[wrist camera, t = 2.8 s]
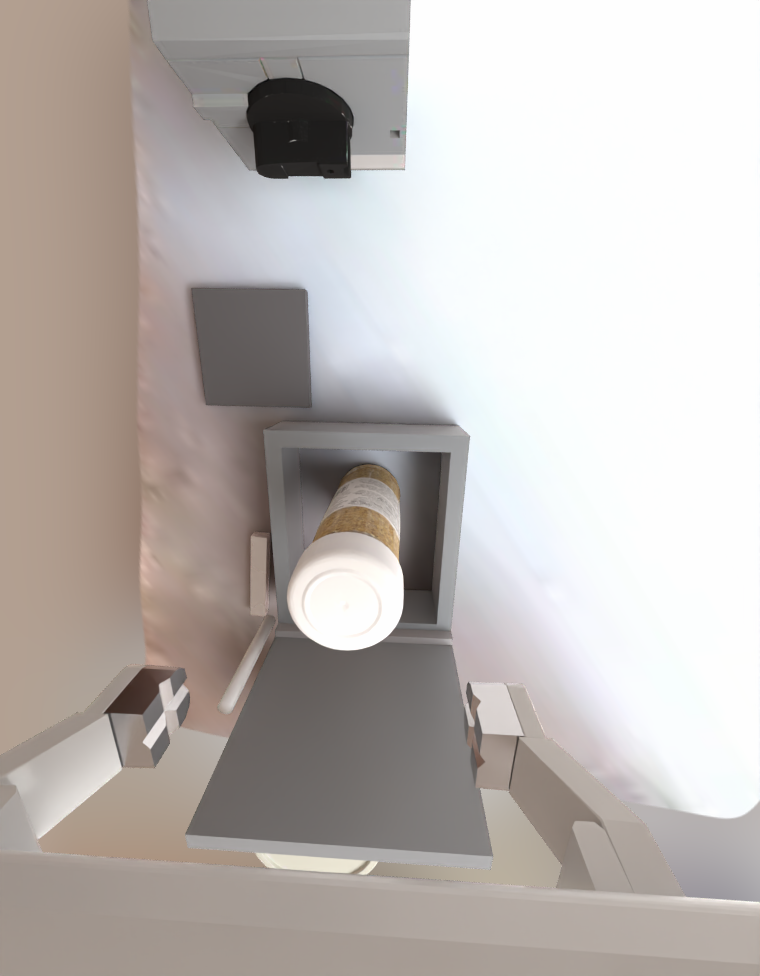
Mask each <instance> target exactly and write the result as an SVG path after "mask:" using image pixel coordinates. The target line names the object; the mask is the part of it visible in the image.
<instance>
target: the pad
mask: <svg viewBox="0 0 760 976" xmlns="http://www.w3.org/2000/svg"><path fill="white" fill-rule="evenodd" d="M192 296H193V304H194V312H195V320H196V328H197V336H198V344H199V352H200V360H201V368H202V376H203V384H204V392H205V400H206V405H222V406H261V407H301V408H310V407H312V400H311V373H310V346H309V319H308V293H307V291H306V290H299V289H221V288H192Z"/></svg>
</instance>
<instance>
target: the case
mask: <svg viewBox="0 0 760 976" xmlns="http://www.w3.org/2000/svg"><path fill="white" fill-rule="evenodd" d="M263 433H264V446H265V458H266V471H267V484H268V496H269V509H270V521H271V534H272V547H273V559H274V572H275V584H276V597H277V609H278V622H279V623H278V625H277V627H276V629H275V639H274V641H273V643H272V645H271V647H270V650H269V652H268V654H267V656H266V658H265V661H264V663H263V665H262V667H261V669H260V672H259V674H258V676H257V678H256V680H255V683H254V685H253V687H252V689H251V691H250V693H249V696H248V698H247V700H246V702H245V704H244V707H243V709H242V711H241V713H240V715H239V718H238V720H237V722H236V724H235V726H234V729H233V731H232V733H231V735H230V737H229V739H228V742H227V744H226V746H225V748H224V750H223V753H222V755H221V757H220V759H219V761H218V764H217V766H216V768H215V770H214V773H213V775H212V777H211V779H210V781H209V783H208V785H207V788H206V790H205V792H204V794H203V797H202V799H201V801H200V803H199V805H198V807H197V810H196V812H195V814H194V816H193V819H192V821H191V823H190V825H189V827H188V829H187V832H186V834H185V836H186V841H187V846H188V848H198V849H213V850H227V851H240V852H253V853H267V854H281V855H295V856H308V857H322V858H336V859H350V860H364V861H377V862H391V863H405V864H420V865H433V866H446V867H460V868H474V869H488V870H491V866H492V860H493V854H492V848H491V844H490V838H489V833H488V828H487V823H486V817H485V812H484V807H483V802H482V797H481V792H480V788H475V784H474V779H473V774H472V769H471V764H470V756H471V748H470V747H469V746H468V745H467V742H466V737H465V729H464V704H463V699H462V694H461V689H460V684H459V679H458V673H457V668H456V663H455V658H454V653H453V648H452V641H453V639H452V634H451V626H452V616H453V606H454V595H455V585H456V575H457V564H458V554H459V544H460V533H461V523H462V513H463V502H464V492H465V482H466V471H467V461H468V451H469V440H470V436H469V435H468V434H467V433H466V432H465V431H464V430H463V429H462V428H461V427H460V426H456V425H419V424H381V423H344V422H307V421H282V422H280V423H278V424H276V425H274V426H271V427H269V428H267V429H265V430H263ZM299 448H314V449H348V450H381V451H415V452H442V460H441V473H440V487H439V500H438V514H437V527H436V541H435V554H434V568H433V581H432V591H427V590H404V595H403V609H402V614H401V617H400V619H399V621H398V623H397V625H396V627H395V628H394V629H393V631H392V632H391V633H390V634H389V635H388V636H387V637H385V638H384V639H383V640H381V641H380V642H378V643H376V644H375V645H372V646H370V647H366V648H363V649H358V650H337V649H332V648H328V647H325V646H323V645H320V644H318V643H317V642H315V641H313V640H311V639H310V638H309V637H307V636H306V635H305V634H304V633H303V632H302V631H301V630H300V629H299V628H298V627H297V625H296V624H295V622H294V621H293V619H292V617H291V614H290V612H289V609H288V603H287V590H288V585H289V582H290V579H291V576H292V574H293V572H294V569H295V567H296V565H297V563H298V561H299V559H300V557H301V556H302V554H303V552H304V534H303V514H302V494H301V474H300V453H299ZM275 621H276V620H275V618H274V617H273V616H271V615H267V616H266V617H265V618H264V620H263V622H262V624H261V625H260V627H259V629H258V631H257V633H256V635H255V637H254V639H253V640H252V642H251V644H250V646H249V648H248V650H247V652H246V654H245V655H244V657H243V659H242V661H241V663H240V665H239V667H238V668H237V670H236V672H235V674H234V676H233V678H232V680H231V682H230V683H229V685H228V687H227V689H226V691H225V693H224V695H223V697H222V698H221V700H220V702H219V704H218V706H217V708H218V710H219V711H220V712H221V713H223V714H230V713H231V712H232V711H233V709H234V706H235V704H236V702H237V700H238V698H239V696H240V694H241V692H242V690H243V688H244V686H245V684H246V682H247V680H248V678H249V675H250V673H251V671H252V669H253V667H254V665H255V663H256V661H257V659H258V657H259V655H260V653H261V651H262V649H263V646H264V644H265V642H266V640H267V638H268V636H269V634H270V632H271V630H272V628H273V626H274V624H275Z"/></svg>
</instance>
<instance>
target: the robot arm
mask: <svg viewBox="0 0 760 976" xmlns="http://www.w3.org/2000/svg"><path fill="white" fill-rule="evenodd" d="M186 678H187V677H186V673H185V669H183V668H180V667H168V666H155V665H137V664H130V665H128V666H126V667H125V668H124V669H123V670H122V671H121V672H120V673H119V674H118V675H117V676H116V677H115V678H114V680H113V681H112V682H111V683H110V684H109V685H108V686H107V687H106V688H105V689H104V690H103V691H102V692H101V693H100V694H99V696H98V697H97V698H96V699H95V700H94V701H93V702H92V703H91V704H90V705H89V706H88V707H87V709H86V710H85V711H84V712H80V713H79V712H77V713H75V714H73V715H71V716H70V717H68V718H66V719H64V720H62V721H61V722H59V723H57V724H55V725H53V726H52V727H50V728H48V729H46V730H45V731H43V732H41V733H39V734H37V735H35V736H34V737H32V738H30V739H28V740H26V741H25V742H23V743H21V744H19V745H17V746H16V747H14V748H12V749H10V750H8V751H7V752H5V753H3V754H1V755H0V976H760V902H750V901H736V900H721V899H707V898H693V897H686V896H685V894H684V893H683V891H682V889H681V887H680V885H679V884H678V882H677V880H676V878H675V876H674V875H673V873H672V871H671V869H670V867H669V865H668V864H667V862H666V860H665V858H664V856H663V854H662V853H661V851H660V849H659V847H658V845H657V844H656V842H655V840H654V838H653V836H652V835H651V833H650V831H649V829H648V827H647V826H646V824H645V823H644V822H643V821H642V820H641V819H640V818H639V817H638V816H636V815H635V814H634V813H633V812H632V811H631V810H630V809H629V808H628V807H627V806H625V805H624V804H623V803H622V802H621V801H620V800H619V799H618V798H617V797H616V796H615V795H614V794H612V793H611V792H610V791H609V790H608V789H607V788H606V787H605V786H604V785H603V784H602V783H600V782H599V781H598V780H597V779H596V778H595V777H594V776H593V775H592V774H591V773H589V772H588V771H587V770H586V769H585V768H584V767H583V766H582V765H581V764H580V763H579V762H577V761H576V760H575V759H574V758H573V757H572V756H571V755H570V754H569V753H568V752H567V751H565V750H564V749H563V748H562V747H561V746H560V745H559V744H558V743H557V742H556V741H555V740H553V739H550V738H546V735H545V733H544V730H543V728H542V726H541V723H540V721H539V718H538V716H537V714H536V711H535V709H534V706H533V704H532V702H531V699H530V697H529V694H528V692H527V690H526V687H525V686H524V685H523V684H516V683H504V684H503V683H490V682H468V684H467V690H466V694H467V699H468V702H467V703H466V704H465V707H464V729H465V737H466V742H467V745H468V746H469V747H470V748H471V756H470V764H471V769H472V774H473V779H474V784H475V788H484V789H496V790H506V791H509V793H510V795H511V796H512V798H513V799H514V800H515V802H516V803H517V804H518V806H519V807H520V809H521V810H522V811H523V813H524V814H525V815H526V817H527V818H528V820H529V821H530V822H531V824H532V825H533V826H534V828H535V829H536V831H537V832H538V833H539V835H540V836H541V837H542V839H543V840H544V841H545V843H546V844H547V846H548V847H549V848H550V849H551V851H552V852H553V854H554V855H555V857H556V858H557V859H558V861H559V862H560V863H561V865H562V867H561V872H560V875H559V879H558V882H557V886H556V888H548V887H533V886H520V885H506V884H491V883H477V882H463V881H462V882H461V881H448V880H433V879H419V878H405V877H391V876H376V875H362V874H347V873H333V872H319V871H304V870H290V869H275V868H260V867H245V866H232V865H217V864H203V863H188V862H174V861H160V860H145V859H130V858H117V857H103V856H88V855H73V854H60V853H44V852H42V849H41V847H40V844H39V842H38V839H39V838H41V837H42V836H43V835H44V834H45V833H47V832H48V831H49V830H50V829H51V828H53V826H55V825H56V824H57V823H59V822H60V821H61V820H62V819H63V818H65V817H66V816H67V815H68V814H69V813H70V812H72V811H73V810H74V809H75V808H77V807H78V806H79V805H80V804H81V803H82V802H84V801H85V800H86V799H87V798H89V796H91V795H92V794H93V793H95V792H96V791H97V790H98V789H99V788H101V787H102V786H103V785H104V784H105V783H107V782H108V781H109V780H110V779H111V778H113V777H114V776H115V775H116V774H117V773H118V772H120V771H121V770H122V767H128V768H129V767H130V768H155V767H156V765H157V764H158V762H159V760H160V759H161V757H162V755H163V754H164V752H165V751H166V749H167V747H168V746H169V744H170V739H169V735H170V734H171V733H173V732H174V731H176V730H177V729H178V728H180V726H181V724H182V723H183V721H184V719H185V717H186V714H187V711H188V708H189V703H190V695H189V690H188V689H187V688H186V687H185V686H184V685H183V683H184V681H185V680H186Z"/></svg>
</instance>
